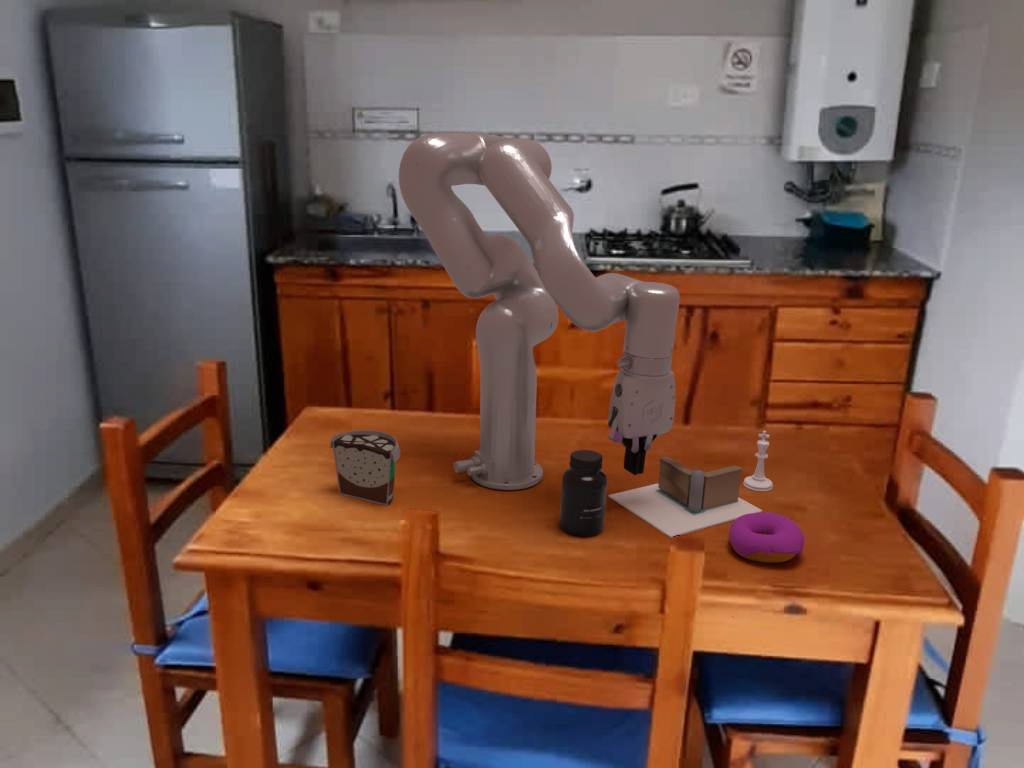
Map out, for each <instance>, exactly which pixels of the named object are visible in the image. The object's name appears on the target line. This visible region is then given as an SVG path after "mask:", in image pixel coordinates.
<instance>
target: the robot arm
mask: <svg viewBox="0 0 1024 768" xmlns="http://www.w3.org/2000/svg"><path fill="white" fill-rule="evenodd" d="M552 169H553V168H552V160H551V157H550V155H549V153H548V151H547V150H546V149H545V147H544V146H543V145H541V144H540V143H539V142H536V141H535V140H533V139H526V138H514V137H507V136H500V135H492V134H485V133H476V132H470V131H469V132H466V131H465V132H464V131H463V132H462V131H461V132H457V131H456V132H432V133H427V134H424V135H421V136H419V137H418V138H416V139H415V140H413V141H412V142H411V143H410V144H409V145H407V148H405V150H404V153H403V155H402V156H401V160H400V163H399V169H398V186H399V190H400V194H401V197H402V199H403V202H404V204H405V206H406V207H407V209H408V211H409V212H410V214H411V215H412V217H413V218H414V220H415V222H416V223H417V225H418V226H419V227H420V229H421V230H422V232H423V233H424V235H425V238H427V240H428V242H429V244H430V246H431V248H432V249H433V251H434V252H435V254H436V256H437V258H438V259H439V261H440V263H441V264H442V266H443V268H444V269H445V271H446V272H447V275H448V276H449V279H450V280H451V281H452V283H453V285H454V286H455V287H456V289H457V290H458V291H459V292H460V293H461V294H462V295H463V296H465V297H467V298H469V299H481V298H485V297H489V296H491V295H493V296H494V298H495V300H494V301H492V302H491V303H489V304H488V305H487V306H486V307H485V308H484V309H483V310H482V312H481V313H480V315H479V316H478V319H477V322H476V326H475V338H476V339H475V340H476V345H477V350H478V352H477V353H478V359H479V370H480V372H479V373H480V374H479V376H480V377H479V379H480V382H479V383H480V384H479V385H480V387H479V388H480V389H479V390H480V392H479V393H480V400H479V401H480V403H479V407H480V410H479V449H478V450H474V451H473V452H474V454H473V456H471V457H470V458H469V459H466V460H465V459H464V460H458V461H455V462H453V469H454V472H455V473H456V474H459V473H464V472H466V473H467V475H468V476H470V477H471V479H472V480H473V481H474V482H475V483H476V484H478V485H480V486H483V487H485V488H489V489H493V490H499V491H500V490H501V491H502V490H503V491H515V490H516V491H517V490H523V489H527V488H530V487H534V486H535V485H537V484H539V483H540V482H541V480H542V479H543V475H544V469H543V467H542V466H541V465H540V464H539V463H537V462H536V461H535V449H536V445H535V444H536V419H537V417H536V416H537V389H538V388H537V384H538V381H537V379H538V378H537V377H538V376H537V368H536V364H535V363H536V362H535V358H534V352H533V348H534V347H535V346H536V345H538V344H541V343H542V342H543V341H545V340H547V339H548V338H550V337H551V336H552V335H553V334H554V332H555V331H556V330H557V327H558V325H559V324H558V323H559V311H558V310H559V309H560V311H561V312H562V313H563V315H564V316H565V317H566V318H567V319H568V320H569V321H570V322H571V323H572V324H574V325H575V326H576V327H577V328H579V329H581V330H583V331H586V332H599V331H602V330H604V329H606V328H608V327H610V326H611V325H613V324H615V323H619V322H620V323H621V322H623V321H624V322H625V323H626V324H625V331H624V332H625V333H624V341H623V349H622V358H618V359H617V362H616V364H617V367H618V368H620V369H618V371H617V374H616V376H615V380H614V384H613V388H612V392H611V396H610V401H609V405H608V406H609V408H608V416H607V417H608V418H607V427H608V428H609V429H610V431H609V434H608V440H609V441H611V442H613V443H617V444H621V445H622V446H623V447H624V448H625V449H624V458H623V469H624V470H626V471H627V472H629V473H631V475H632V476H637V475H643V474H644V472H645V462H646V457H647V456H646V455H647V451H649V450H650V449H651V446H652V443H653V442H654V441H655V439H656V438H658V437H660V436H663V435H664V434H666V433H667V432H669V431H670V430H671V429H672V428H673V425H674V420H675V419H674V418H675V408H676V380H675V374H674V373H675V372H674V371H672V370H671V368H672V361H673V360H672V359H673V351H674V345H675V338H676V329H677V323H678V315H679V308H680V295H681V294H680V292H679V290H678V288H676V287H675V286H673V285H671V284H667V283H665V282H658V281H657V282H655V281H643V280H639V279H637V278H633V277H630V276H627V275H624V274H620V273H616V272H615V273H614V272H611V273H610V272H609V273H608V272H607V273H604V274H601V275H599V276H595V275H594V274H593V272H591V270H590V269H589V267H588V266H587V265H586V263H585V262H584V260H583V259H582V258H581V256H580V254H579V252H578V250H577V248H576V244H575V241H574V237H573V229H574V228H573V227H574V220H575V219H574V218H575V217H574V215H575V214H574V211H573V208H571V206H570V204H568V202H567V201H566V200H565V198H564V197H563V195H561V193H560V192H559V191H558V189H557V188H556V187H555V186H554V184H553V183H552V181H551V180H550V177H551V174H552ZM462 185H478V186H484V187H486V189H487V190H488V191H489V193H490V194H491V195H492V197H493V198H494V200H496V202H497V203H498V205H499V206H500V207H501V209H502V210H503V211H504V213H506V215H507V216H508V217H509V219H510V221H512V223H513V224H514V225H515V227H516V228H517V230H518V231H519V232H520V234H521V235H522V236H523V238H524V239H525V240H526V242H527V244H528V245H529V247H530V252H531V257H532V259H531V258H530V257H529V255H528V253H527V252H526V251H525V249H524V248H523V247H522V246H521V245H520V244H519V243H518V242H516V241H515V240H514V239H512V238H511V237H508V236H505V235H501V234H500V235H497V234H496V235H494V234H493V235H490V236H487V234H486V233H485V232H484V231H483V229H482V228H481V226H480V225H479V223H478V221H477V220H476V218H475V216H474V214H473V212H472V211H471V210H470V208H469V207H468V206H467V205H466V203H465V202H464V201H462V200H461V198H459V197H458V196H457V195H456V194H455V192H454V191H453V188H452V187H453V186H462ZM532 260H533V262H534V263H533V262H532ZM558 308H559V309H558Z"/></svg>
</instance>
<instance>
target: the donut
mask: <svg viewBox="0 0 1024 768" xmlns="http://www.w3.org/2000/svg"><path fill="white" fill-rule="evenodd" d="M728 531H729V532H728V538H729V542H730V544H731V546H732V548H733V550H734V551H735V553H736V554H738V555H739V556H740V557H742V558H744V559H747V560H750V561H754V562H758V563H771V564H773V563H774V564H776V563H784V562H787V561H789V560H792V559H793V558H794V557H795V556H796V555H797V556H799V557H800V556H801V554H802V551H803V548H804V544H805V536H804V533H803V532H802V530H801V528H800V527H799V525H798V524H797V523H795V522H794V521H793V520H792V519H790V518H789V517H786V516H785V515H781V514H779V513H773V512H761V513H750V514H745V515H742V516H740V517H738V518H737V519H736V520H733V521H732V524H731V525H730V527H729V530H728Z"/></svg>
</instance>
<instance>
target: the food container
mask: <svg viewBox="0 0 1024 768" xmlns="http://www.w3.org/2000/svg"><path fill="white" fill-rule="evenodd" d="M329 448H330V449H333V456H334V462H335V471H336V478H337V486H338V493H339V495H340V496H343V497H344V496H346V497H349V498H353V499H357V500H361V499H362V501H365V500H366V501H365V502H370V503H373V502H374V503H375V504H378V505H382V504H383V506H386V505H388V506H390V505H391V503H392V502H393V500H394V492H395V491H394V490H395V489H394V488H395V478H396V477H395V475H396V474H395V473H396V462H397V460H399V458H400V456H401V450H400V445H399V443H398V441H397V439H396V437H394V436H393V435H392V434H390V433H386V432H384V431H379V430H368V429H367V430H366V429H363V430H361V429H360V430H350V431H345V432H342V433H338V434H335V435H333V436H331V440H330V445H329ZM374 503H373V504H374Z"/></svg>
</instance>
